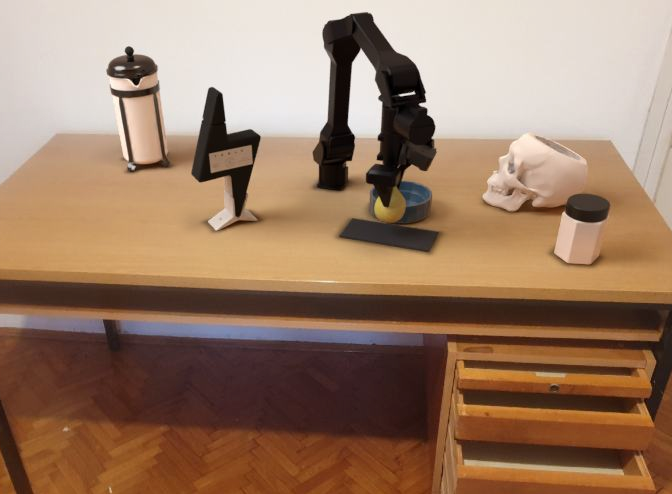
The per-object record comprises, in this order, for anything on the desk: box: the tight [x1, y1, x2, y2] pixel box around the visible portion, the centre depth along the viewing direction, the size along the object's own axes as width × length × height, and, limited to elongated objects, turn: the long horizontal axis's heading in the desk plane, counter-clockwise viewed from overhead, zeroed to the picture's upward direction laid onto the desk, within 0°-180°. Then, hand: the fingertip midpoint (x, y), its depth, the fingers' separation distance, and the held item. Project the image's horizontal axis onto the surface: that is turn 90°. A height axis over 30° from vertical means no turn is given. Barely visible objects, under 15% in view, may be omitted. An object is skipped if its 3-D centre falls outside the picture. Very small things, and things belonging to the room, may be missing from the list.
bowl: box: [368, 180, 433, 224], centre depth 163 cm, size 14×14×4 cm
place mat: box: [339, 217, 439, 253], centre depth 155 cm, size 20×9×1 cm, turn 68°
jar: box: [553, 193, 611, 266], centre depth 142 cm, size 9×8×12 cm
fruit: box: [374, 187, 406, 224], centre depth 149 cm, size 7×8×12 cm
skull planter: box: [481, 132, 589, 212], centre depth 162 cm, size 14×20×19 cm
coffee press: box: [105, 45, 171, 173], centre depth 184 cm, size 17×16×30 cm
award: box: [191, 86, 262, 232], centre depth 153 cm, size 15×5×30 cm, turn 117°
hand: (390, 200), depth 150 cm, fingers closed on fruit, 6 cm apart
